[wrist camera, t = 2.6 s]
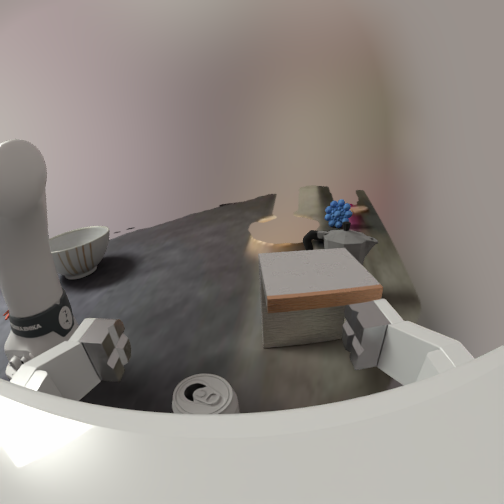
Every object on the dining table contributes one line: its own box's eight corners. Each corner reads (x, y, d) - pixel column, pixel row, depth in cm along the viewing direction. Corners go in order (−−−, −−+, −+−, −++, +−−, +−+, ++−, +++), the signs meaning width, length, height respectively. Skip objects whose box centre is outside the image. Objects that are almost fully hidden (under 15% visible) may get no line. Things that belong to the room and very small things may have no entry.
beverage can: (211, 424, 31) (193, 362, 27) (254, 441, 28) (248, 382, 24) (183, 457, 26) (154, 401, 22) (229, 479, 23) (212, 430, 19)
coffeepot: (369, 294, 60) (378, 218, 53) (368, 317, 52) (380, 231, 45) (306, 287, 66) (307, 213, 59) (296, 307, 57) (297, 224, 51)
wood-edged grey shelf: (269, 394, 36) (267, 299, 30) (262, 337, 49) (258, 253, 43) (361, 380, 36) (383, 287, 30) (336, 329, 49) (344, 247, 43)
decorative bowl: (86, 292, 67) (75, 252, 62) (33, 287, 70) (23, 253, 66) (129, 256, 92) (123, 223, 87) (77, 256, 95) (70, 228, 90)
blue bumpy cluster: (353, 227, 110) (354, 198, 106) (349, 231, 105) (351, 201, 101) (327, 223, 116) (328, 196, 112) (322, 227, 111) (323, 198, 107)
